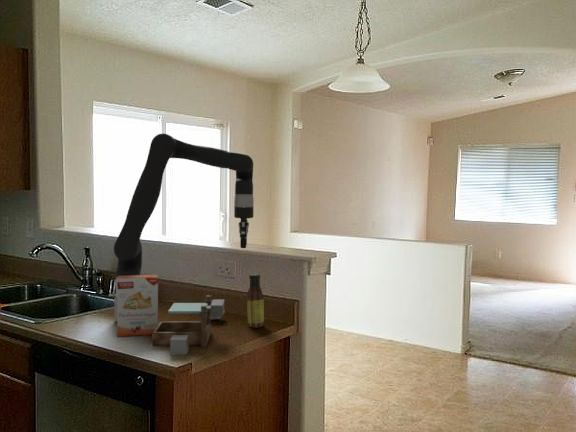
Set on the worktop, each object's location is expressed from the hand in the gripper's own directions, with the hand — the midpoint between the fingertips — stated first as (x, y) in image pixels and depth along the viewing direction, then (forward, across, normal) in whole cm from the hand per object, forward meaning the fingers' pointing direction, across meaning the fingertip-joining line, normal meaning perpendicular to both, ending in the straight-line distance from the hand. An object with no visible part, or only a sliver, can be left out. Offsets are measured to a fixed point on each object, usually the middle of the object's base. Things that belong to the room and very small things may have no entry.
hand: (243, 246), depth 207 cm
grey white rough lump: (+30, 0, -11) cm, 31 cm away
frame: (+29, +26, -20) cm, 44 cm away
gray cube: (+29, +40, -19) cm, 53 cm away
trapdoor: (+20, +26, -15) cm, 36 cm away
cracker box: (+30, +19, -37) cm, 51 cm away
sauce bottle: (+30, +9, +5) cm, 31 cm away
